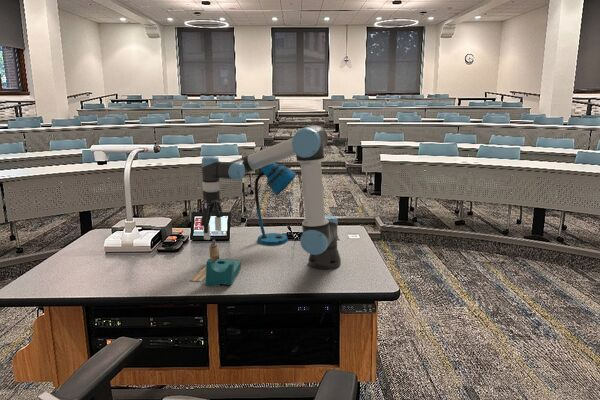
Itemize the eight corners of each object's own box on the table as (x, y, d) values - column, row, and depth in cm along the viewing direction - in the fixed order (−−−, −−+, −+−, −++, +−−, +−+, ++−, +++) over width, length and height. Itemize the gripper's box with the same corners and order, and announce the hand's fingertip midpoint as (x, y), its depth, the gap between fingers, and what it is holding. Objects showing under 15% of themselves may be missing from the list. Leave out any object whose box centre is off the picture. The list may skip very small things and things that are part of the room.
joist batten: (215, 268, 222) (215, 267, 222) (200, 282, 207) (200, 281, 207) (204, 267, 223) (204, 266, 223) (189, 281, 208) (189, 280, 208)
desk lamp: (297, 245, 253) (296, 159, 243) (255, 245, 253) (252, 160, 242) (296, 235, 269) (296, 155, 259) (257, 236, 269) (254, 155, 258)
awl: (220, 261, 231) (219, 238, 228) (217, 264, 227) (216, 241, 224) (212, 260, 232) (211, 238, 229) (208, 263, 228) (207, 241, 225)
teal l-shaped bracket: (230, 288, 202) (232, 264, 200) (205, 285, 203) (206, 261, 200) (240, 271, 220) (241, 250, 217) (217, 269, 220) (217, 247, 218)
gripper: (213, 184, 234) (215, 226, 239) (191, 196, 210) (194, 242, 215) (228, 185, 232) (229, 227, 237) (208, 196, 208) (209, 243, 213)
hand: (212, 234), depth 226 cm, fingers open, 13 cm apart
